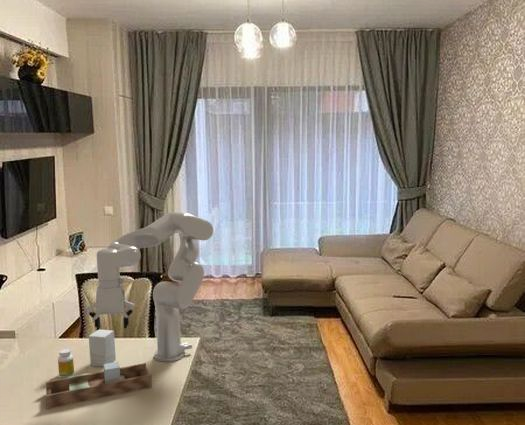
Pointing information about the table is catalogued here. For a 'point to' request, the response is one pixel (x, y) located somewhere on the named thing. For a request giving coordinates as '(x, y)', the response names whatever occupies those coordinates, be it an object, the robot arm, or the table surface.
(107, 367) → the block
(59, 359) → the supplement bottle
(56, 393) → the box
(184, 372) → the table surface
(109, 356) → the supplement box
